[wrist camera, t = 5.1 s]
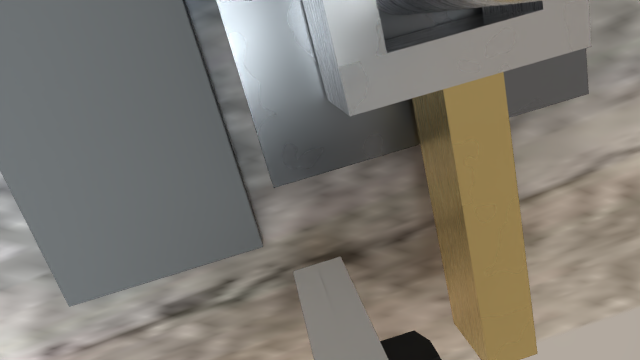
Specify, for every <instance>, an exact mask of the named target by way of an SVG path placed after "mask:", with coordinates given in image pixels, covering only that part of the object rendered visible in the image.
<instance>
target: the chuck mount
mask: <svg viewBox="0 0 640 360" xmlns="http://www.w3.org/2000/svg"><path fill="white" fill-rule="evenodd" d="M216 1H217V4H218V8H219V11H220V14H221V17H222V21H223V24H224V27H225V30H226V34H227V37H228V40H229V44H230V47H231V50H232V53H233V57H234V60H235V63H236V66H237V70H238V73H239V76H240V80H241V83H242V86H243V89H244V93H245V96H246V99H247V102H248V106H249V109H250V112H251V116H252V119H253V122H254V125H255V129H256V132H257V135H258V138H259V142H260V145H261V148H262V151H263V155H264V158H265V161H266V165H267V168H268V171H269V174H270V178H271V181H272V184H273V187H274V188H275V187H279V186H282V185H285V184H289V183H292V182H295V181H299V180H302V179H305V178H309V177H312V176H315V175H319V174H322V173H325V172H329V171H332V170H335V169H339V168H342V167H345V166H349V165H352V164H355V163H359V162H362V161H366V160H369V159H372V158H376V157H379V156H382V155H386V154H389V153H392V152H396V151H399V150H402V149H406V148H409V147H412V146H416V145H419V144H420V140H419V135H418V129H417V124H416V119H415V113H414V108H413V103H412V99H408V100H405V101H401V102H398V103H394V104H391V105H387V106H384V107H381V108H377V109H374V110H370V111H367V112H363V113H360V114H356V115H353V116H349V115H347V114H346V113H345V112H343V111H342V110H341V109H339V108H338V107H337V106H335V105H334V104H333V103H331V102H330V101H329V100H327V97H326V93H325V89H324V85H323V81H322V77H321V73H320V69H319V65H318V61H317V57H316V53H315V49H314V45H313V41H312V37H311V33H310V29H309V25H308V21H307V17H306V12H305V8H304V4H303V0H216ZM378 11H379V16H380V21H381V26H382V31H383V36H384V41H386V40H389V39H393V38H396V37H400V36H403V35H407V34H411V33H414V32H418V31H421V30H425V29H429V28H432V27H436V26H439V25H443V24H447V23H450V22H454V21H457V20H461V19H465V18H468V17H472V16H475V15H479V14H483V12H482V7H479V8H469V9H460V10H451V11H441V12H432V13H423V14H413V15H393V14H389V13H386V12H384V11H382V10H380V9H378ZM503 73H504V81H505V90H506V98H507V106H508V114H509V117H513V116H516V115H519V114H523V113H526V112H529V111H533V110H536V109H539V108H543V107H546V106H549V105H553V104H556V103H559V102H563V101H566V100H570V99H573V98H576V97H580V96H583V95H586V94H589V90H588V74H587V58H586V48H584V49H580V50H577V51H573V52H570V53H567V54H563V55H560V56H556V57H553V58H549V59H546V60H542V61H539V62H536V63H532V64H529V65H525V66H522V67H518V68H515V69H511V70H508V71H505V72H503Z"/></svg>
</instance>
